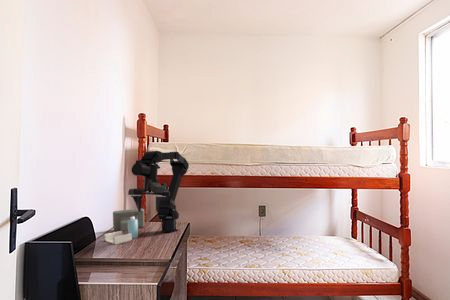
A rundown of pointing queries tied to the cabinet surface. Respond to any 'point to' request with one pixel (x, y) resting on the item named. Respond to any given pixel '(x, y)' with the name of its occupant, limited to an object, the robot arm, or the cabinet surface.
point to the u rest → (117, 237)
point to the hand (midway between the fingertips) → (148, 211)
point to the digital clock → (127, 218)
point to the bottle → (133, 227)
